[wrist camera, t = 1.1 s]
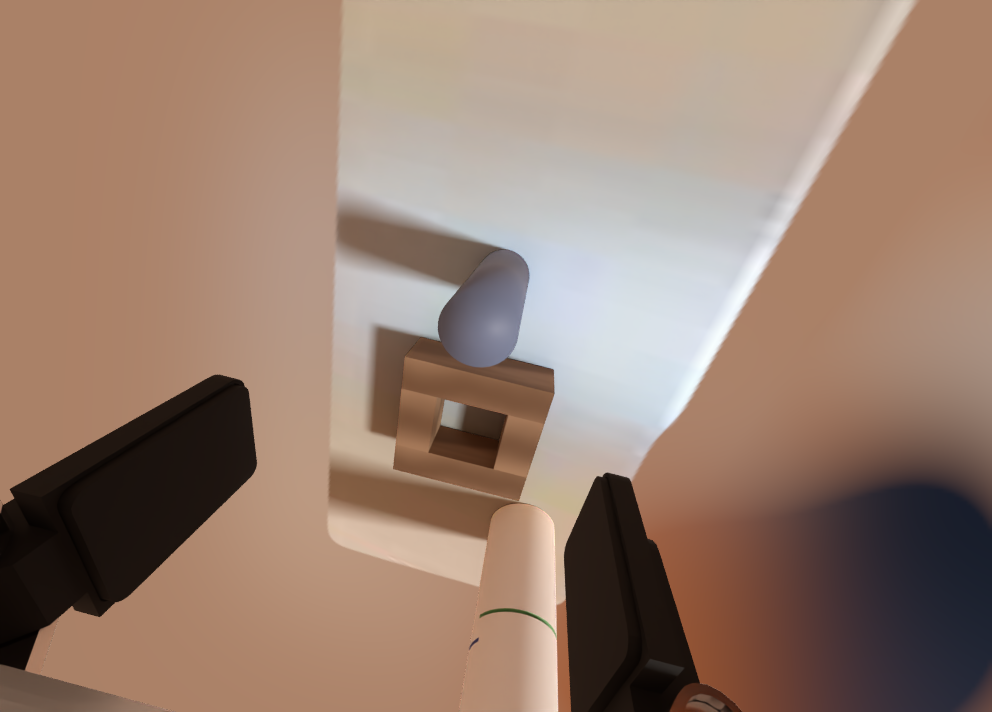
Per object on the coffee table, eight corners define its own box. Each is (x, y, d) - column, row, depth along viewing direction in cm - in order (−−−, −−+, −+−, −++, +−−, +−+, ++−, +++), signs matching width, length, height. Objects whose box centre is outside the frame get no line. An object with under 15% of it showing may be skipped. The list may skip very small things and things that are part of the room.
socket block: (420, 337, 32) (404, 356, 28) (553, 369, 31) (554, 393, 28) (408, 441, 37) (393, 469, 33) (521, 470, 37) (518, 501, 33)
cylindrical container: (480, 531, 42) (401, 937, 19) (508, 493, 38) (454, 925, 16) (534, 556, 42) (519, 977, 20) (566, 521, 39) (592, 973, 17)
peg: (484, 244, 28) (443, 282, 17) (534, 256, 28) (526, 302, 17) (474, 293, 29) (433, 356, 19) (522, 305, 29) (508, 375, 19)
